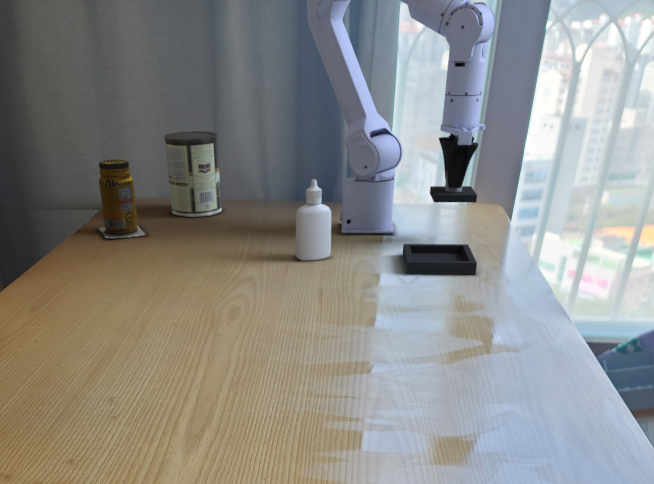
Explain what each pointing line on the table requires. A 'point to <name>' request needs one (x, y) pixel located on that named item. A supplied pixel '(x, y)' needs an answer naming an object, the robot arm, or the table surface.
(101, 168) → the condiment
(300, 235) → the eye dropper bottle
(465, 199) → the stud pad
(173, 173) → the coffee can
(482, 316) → the table surface
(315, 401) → the table surface
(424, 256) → the socket pad
